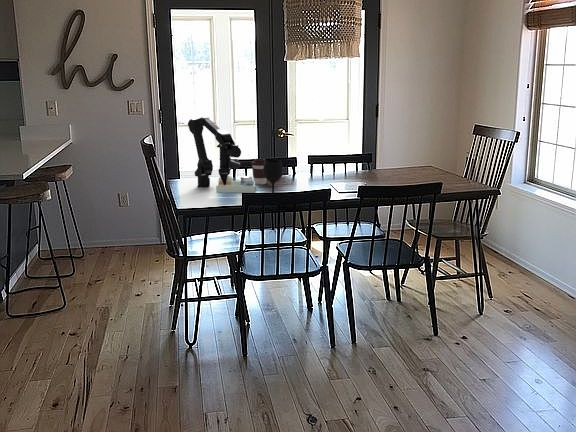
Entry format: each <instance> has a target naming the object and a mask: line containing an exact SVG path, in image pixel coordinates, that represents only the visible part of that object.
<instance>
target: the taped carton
mask: <svg viewBox="0 0 576 432" xmlns="http://www.w3.org/2000/svg"><path fill="white" fill-rule="evenodd" d="M218 181H219V186H232V181H233V177H232V176H229V175H228V176H227V181H226V185H224V184H223V182H222V179H221V177H220V175H219V176H218Z"/></svg>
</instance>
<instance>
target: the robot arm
mask: <svg viewBox="0 0 576 432" xmlns="http://www.w3.org/2000/svg"><path fill="white" fill-rule="evenodd" d="M187 126H188V127H187V128H188V130H189V132H190V133H191V134H192V135H193V140H194V144H195V148H196V152H197V158H198V162H197V163H196V164H197V169H196V170H195V171H194V176H195V177H197V188H209V187H210V186H211V177H210V176H212V174H213V169H214V165H213V160H212V159H210V158H208V155H207V151H206V147H205V146H206V145H205V141H204V137H203V131H204V127H205V129H207V130H208V131H209V132H210V133H211V134H212V135H214V137H215V140H216V141H217V143H218V144H217V146H216V148H219V168H218V175H219V176H220V177H221V179H222V182H223V184H224V185H226V181H227V176H229V175H230V174H231V170H232V168H234V169H236V170H239V169H240V166H241V162H239V160H238V159H236V158H240V157H241V155H242V150H241V148H240V147H239V145H238V144H236V143H235V141H234V139H233V137H232V134H231V133H229V132H228V131H226V130H223V129H221V128H220V127H219V126H218V125H217V124H216V123H214V122H213V121H212V120H211V119H210V117H208V116H203V117H199V118H191V119H189V120H188V122H187ZM231 158H235V159H234V160H232V159H231Z"/></svg>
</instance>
